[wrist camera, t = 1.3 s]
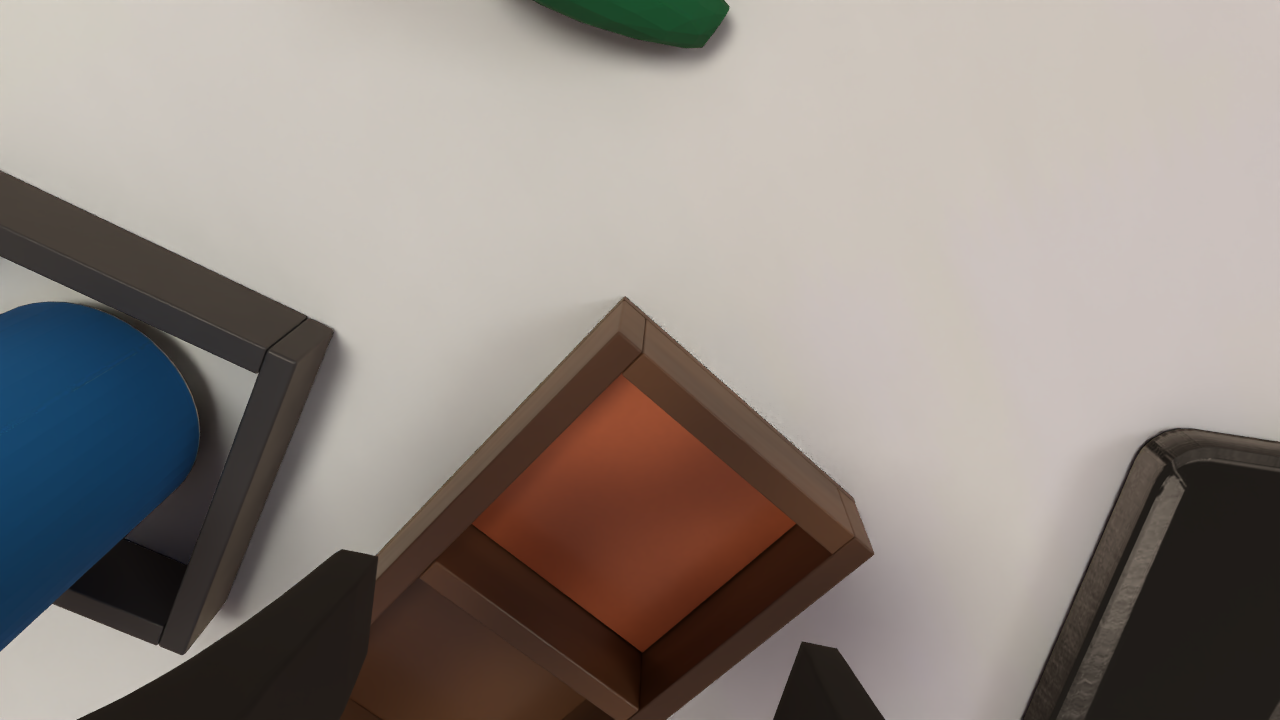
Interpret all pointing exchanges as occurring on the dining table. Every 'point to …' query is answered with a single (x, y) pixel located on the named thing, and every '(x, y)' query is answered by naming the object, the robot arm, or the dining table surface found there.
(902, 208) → the dining table surface
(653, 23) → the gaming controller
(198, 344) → the holder
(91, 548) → the beverage can
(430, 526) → the brown wooden divided tray
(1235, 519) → the phone
